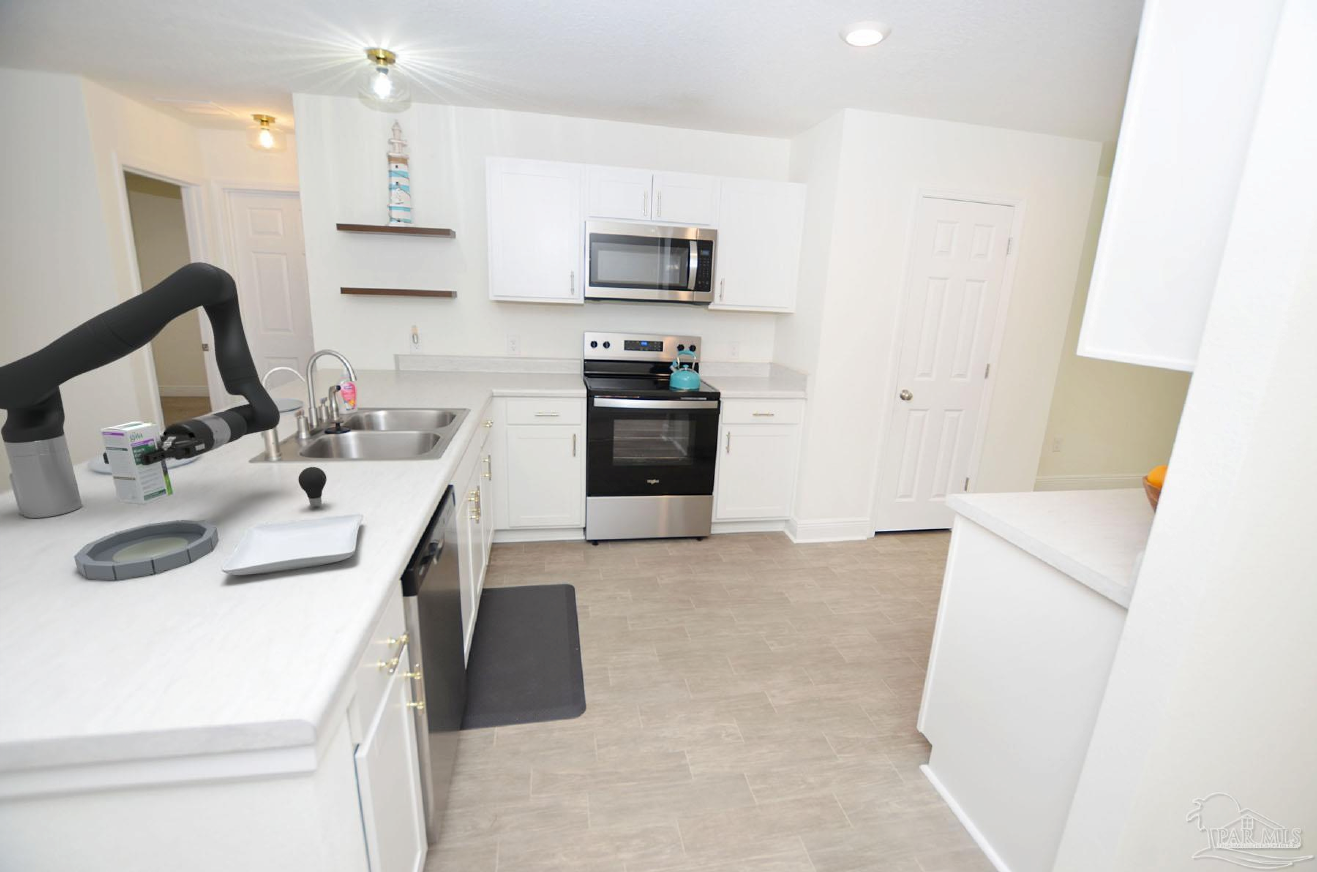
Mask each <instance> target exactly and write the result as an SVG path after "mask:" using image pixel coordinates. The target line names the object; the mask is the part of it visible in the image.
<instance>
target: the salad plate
mask: <svg viewBox="0 0 1317 872" xmlns="http://www.w3.org/2000/svg"><path fill="white" fill-rule="evenodd" d="M363 516H364V515H363V514H362V513H351V514H350V513H348V514H341V515H340V514H339V515H331V516H322V517H321V516H319V517H310V518H304V519H295V520H286V521H279V522H271V523H265V524H264V523H263V524H256V525H250V526H249V527H248V528H247V529H246V531H244V534H243V535H242V537H241V538H240V540H239V542H238V544H237V545H236V546H235V548H234V549H233V550H232V552H231V553H230V555H229V556H228V558H227V559H226V560H225V562H224V563H223V565H222V567H221V571H222V573H224V574H228V575H234V576H248V575H257V574H260V573H261V574H268V573H275V572H276V573H277V572H282V571H291V570H297V569H303V568H310V567H317V566H323V565H329V564H333V563H336V562H341V561H344V560H346V559H348V558H350V557H352V556H353V555H354V553H356V548H357V539H358V532H359V529H360V525H361V523H362V521H363Z"/></svg>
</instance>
